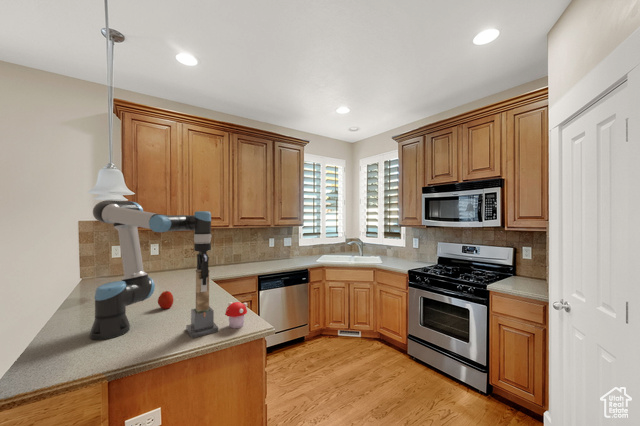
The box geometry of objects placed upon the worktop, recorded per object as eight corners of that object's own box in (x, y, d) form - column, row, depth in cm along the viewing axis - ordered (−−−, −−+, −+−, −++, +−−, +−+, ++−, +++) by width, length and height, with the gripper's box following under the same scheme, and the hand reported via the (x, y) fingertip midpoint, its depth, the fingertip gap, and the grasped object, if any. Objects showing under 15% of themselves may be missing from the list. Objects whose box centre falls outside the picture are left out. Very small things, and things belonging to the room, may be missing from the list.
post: (197, 314, 128) (198, 271, 129) (195, 311, 133) (195, 269, 133) (209, 312, 131) (209, 270, 132) (206, 309, 136) (206, 268, 136)
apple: (155, 310, 159) (155, 292, 160) (162, 306, 168) (162, 288, 168) (169, 310, 160) (169, 292, 160) (176, 305, 168) (176, 288, 168)
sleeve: (191, 338, 124) (191, 316, 124) (186, 329, 133) (186, 309, 133) (218, 331, 131) (218, 310, 131) (211, 323, 140) (211, 304, 140)
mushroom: (251, 324, 140) (252, 300, 140) (235, 332, 130) (235, 307, 130) (237, 320, 145) (237, 297, 145) (220, 327, 136) (220, 303, 136)
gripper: (215, 243, 127) (215, 293, 127) (206, 240, 142) (205, 285, 142) (198, 244, 123) (198, 295, 123) (190, 241, 137) (190, 287, 137)
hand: (202, 290), depth 132 cm, fingers closed on post, 5 cm apart
